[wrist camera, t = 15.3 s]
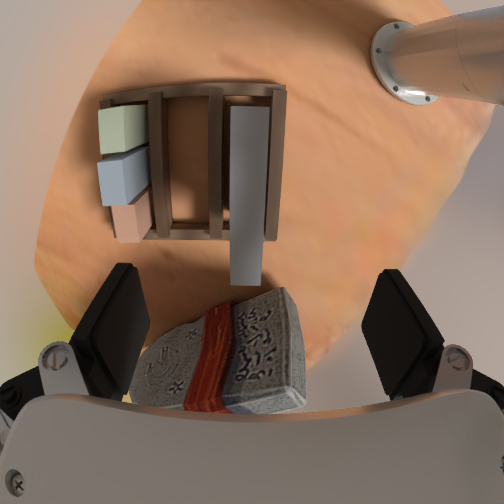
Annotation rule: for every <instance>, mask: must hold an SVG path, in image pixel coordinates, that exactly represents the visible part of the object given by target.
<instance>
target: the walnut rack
mask: <svg viewBox="0 0 504 504" xmlns="http://www.w3.org/2000/svg"><path fill="white" fill-rule="evenodd" d="M194 96H209V113H208V176H209V221H210V224H204V223H173V217H172V205H171V191H170V174H169V153H168V98H178V97H194ZM224 96H263V97H271V99H270V120H269V141H268V160H267V179H266V197H265V215H264V233H263V241H276V240H277V232H278V220H279V207H280V194H281V181H282V166H283V151H284V135H285V118H286V100H287V91H286V85H279V84H263V83H196V84H180V85H169V86H159V87H150V88H143V89H136V90H129V91H123V92H117V93H112V94H107V95H103V100H102V101H100V110H103V109H108V108H114V107H120V104H125V103H131V102H139V101H146V100H148V116H149V146H150V164H151V178H152V190H153V201H154V211H155V220H156V223H153V224H152V226H151V227H150V229H149V230H148V231H147V233H146V234H145V236H144V237H143V239H151V240H230V224H223V138H224ZM116 153H119V152H116ZM116 153H107V154H102V155H103V160H104V159H106V158H108V157H110V156H112V155H114V154H116ZM109 210H110V216H111V222H112V227H113V233H114V238H117V236H116V231H115V226H114V220H113V214H112V208H111V206H109Z"/></svg>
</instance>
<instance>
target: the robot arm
mask: <svg viewBox="0 0 504 504" xmlns="http://www.w3.org/2000/svg"><path fill="white" fill-rule="evenodd" d="M376 51H377V52H376ZM370 54H371V61H372V64H373V68H374V70H375V73H376V75H377V77H378V79H379V80H380V82H381V83H382V85H383V86H384V87H385V88H386V89H387V91H388V92H390V93H391V94H392V95H393V96H394V97H396V98H397V99H399V100H400V101H402V102H405V103H407V104H411V105H420V106H422V105H428V104H431V103H433V102H434V101H436V100H437V99H438V98H439V97H440V96H441V97H451V98H459V99H467V100H474V101H480V102H486V103H492V104H498V105H503V106H504V6H499V7H494V8H488V9H483V10H478V11H473V12H468V13H463V14H458V15H453V16H449V17H445V18H441V19H437V20H434V21H430V22H427V23H423V24H420V25H417V26H415V25H413V24H410V23H407V22H400V21H397V22H391V23H388V24H386V25H384V26H382V27H380V28H379V29H378V30H377V31H376V33H375V35H374V36H373V39H372V42H371V50H370ZM393 88H394V90H393ZM149 326H150V319H149V315H148V311H147V307H146V303H145V299H144V295H143V291H142V287H141V283H140V278H139V274H138V270H137V268H136V267H133V265H132V264H131V263H117V264H116V265H115V267H114V268H113V270H112V271H111V273H110V274H109V276H108V277H107V279H106V280H105V282H104V283H103V285H102V286H101V288H100V290H99V291H98V293H97V294H96V296H95V298H94V299H93V301H92V302H91V304H90V306H89V307H88V309H87V311H86V312H85V314H84V316H83V318H82V319H81V321H80V323H79V325H78V326H77V328H76V330H75V332H74V333H73V335H72V337H71V340H70V341H69V343H66V342H63V341H62V342H61V341H57V342H53V343H51V344H49V345H47V346H46V347H45V348H44V349H43V350H42V352H41V353H40V356H39V359H38V364H39V366H37V367H35V368H33V369H31V370H29V371H26V372H24V373H22V374H20V375H18V376H16V377H14V378H12V379H10V380H8V381H7V382H5V383H3V384H2V386H1V387H0V504H504V387H503V385H501V384H500V383H499V382H497V381H495V380H493V379H491V378H490V377H488V376H486V375H484V374H482V373H480V372H478V371H476V370H474V369H473V361H472V357H471V356H470V354H469V353H468V351H466V350H465V349H464V348H462V347H461V346H458V345H455V344H451V345H448V346H446V347H445V348H444V346H443V342H444V341H445V340H444V338H443V337H442V335H441V333H440V332H439V330H438V328H437V327H436V325H435V323H434V322H433V320H432V319H431V317H430V315H429V314H428V313H427V311H426V309H425V308H424V306H423V305H422V303H421V302H420V300H419V299H418V297H417V296H416V294H415V293H414V291H413V290H412V288H411V287H410V285H409V284H408V282H407V281H406V280H405V278H404V277H403V275H402V274H401V272H400V271H399V270H398V269H385V270H384V271H383V272H382V273H380V274H379V276H378V279H377V282H376V285H375V288H374V291H373V293H372V296H371V299H370V302H369V305H368V307H367V310H366V313H365V315H364V318H363V321H362V326H361V327H362V332H363V334H364V337H365V339H366V342H367V345H368V347H369V350H370V352H371V355H372V358H373V360H374V363H375V366H376V369H377V371H378V374H379V377H380V380H381V383H382V386H383V388H384V391H385V393H386V395H389V397H390V400H391V401H389V402H384V403H379V404H372V405H366V406H360V407H353V408H346V409H338V410H329V411H318V412H306V413H290V414H223V413H206V412H193V411H183V410H174V409H166V408H159V407H152V406H145V405H138V404H132V403H127V402H121V401H122V398H123V395H126V394H127V393H128V391H129V387H130V384H131V381H132V377H133V374H134V371H135V368H136V365H137V362H138V359H139V356H140V353H141V350H142V347H143V344H144V341H145V338H146V335H147V332H148V330H149Z"/></svg>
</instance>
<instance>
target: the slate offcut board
mask: <svg viewBox="0 0 504 504" xmlns="http://www.w3.org/2000/svg"><path fill="white" fill-rule="evenodd" d="M97 168H98V177H99V184H100V192H101V198H102V205H103V206H116V205H128V204H129V203H130V202H131V201H132V200H133V199H134V198H135V197H136V196H137V195H138V194H139V193H140V192H141V191H142V190H143V189H144V188H145V187H146V186H148V185H149V184H150V183H151V182H152V178H151V164H150V146H144V147H134V148H132V149H130V150H127V151H125V152H119V153H116V154H114V155H112V156H110V157H108V158H106V159H104V160H101V161H99V162H97Z"/></svg>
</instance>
